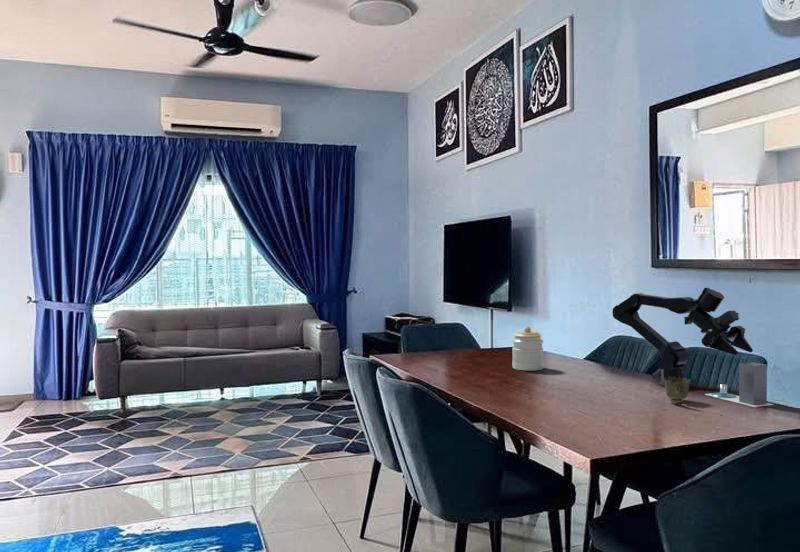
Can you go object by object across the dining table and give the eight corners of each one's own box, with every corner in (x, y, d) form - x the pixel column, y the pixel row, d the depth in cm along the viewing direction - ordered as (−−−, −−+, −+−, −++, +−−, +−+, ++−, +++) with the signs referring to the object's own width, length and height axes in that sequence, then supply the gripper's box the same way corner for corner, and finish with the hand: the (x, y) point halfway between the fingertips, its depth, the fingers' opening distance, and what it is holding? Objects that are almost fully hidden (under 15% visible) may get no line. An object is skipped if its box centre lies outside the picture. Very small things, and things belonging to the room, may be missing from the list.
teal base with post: (706, 397, 202) (706, 383, 202) (723, 395, 204) (723, 382, 204) (724, 402, 195) (724, 387, 195) (741, 400, 197) (741, 386, 197)
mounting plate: (704, 397, 202) (704, 394, 202) (723, 395, 205) (723, 392, 205) (754, 410, 184) (754, 406, 184) (774, 407, 187) (774, 404, 187)
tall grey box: (739, 401, 191) (739, 363, 191) (752, 400, 192) (752, 362, 192) (753, 405, 186) (753, 365, 186) (766, 404, 188) (766, 364, 187)
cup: (678, 407, 188) (678, 381, 188) (658, 402, 195) (658, 377, 195) (695, 404, 192) (695, 379, 192) (674, 400, 198) (674, 375, 198)
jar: (546, 371, 253) (546, 328, 253) (515, 371, 253) (514, 328, 253) (539, 365, 266) (539, 325, 266) (509, 366, 266) (509, 325, 266)
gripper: (704, 305, 201) (744, 335, 190) (734, 302, 211) (774, 331, 201) (685, 331, 206) (724, 362, 196) (716, 327, 217) (754, 357, 206)
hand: (744, 352), depth 200 cm, fingers open, 9 cm apart
